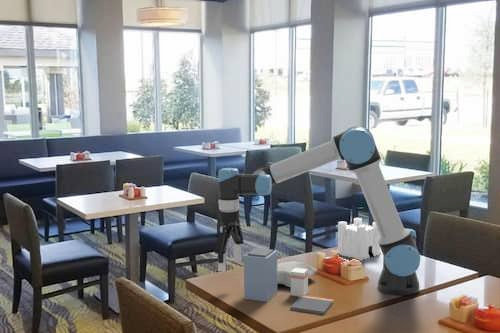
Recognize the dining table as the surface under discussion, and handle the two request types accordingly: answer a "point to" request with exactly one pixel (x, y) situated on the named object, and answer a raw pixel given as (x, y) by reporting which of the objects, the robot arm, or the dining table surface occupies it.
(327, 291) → the dining table surface
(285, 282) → the rock
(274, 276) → the box
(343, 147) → the robot arm
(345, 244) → the castle model
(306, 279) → the cartridge
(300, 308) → the mat
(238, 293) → the dining table surface
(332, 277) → the dining table surface
